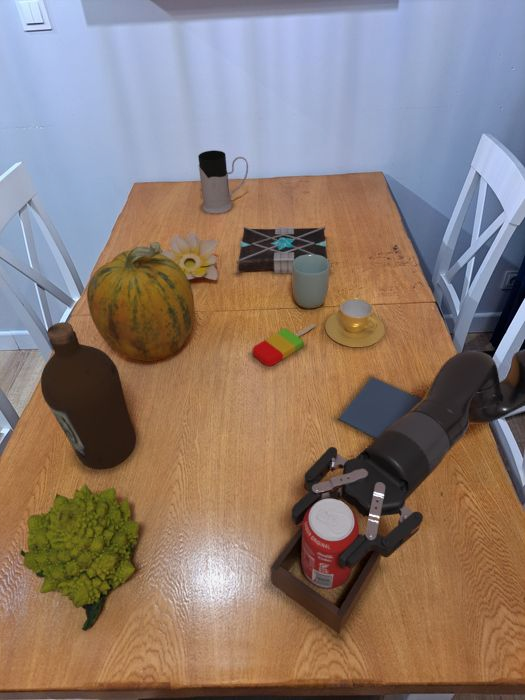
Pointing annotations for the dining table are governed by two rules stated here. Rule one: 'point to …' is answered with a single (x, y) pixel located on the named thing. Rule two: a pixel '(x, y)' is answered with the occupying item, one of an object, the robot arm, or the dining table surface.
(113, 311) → the pumpkin
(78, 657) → the dining table surface
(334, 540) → the beverage can
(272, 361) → the popsicle
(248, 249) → the book
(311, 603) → the can holder
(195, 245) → the decorative flower
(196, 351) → the dining table surface
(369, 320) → the cup
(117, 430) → the olive oil
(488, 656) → the dining table surface
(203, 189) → the glass holder
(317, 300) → the cup
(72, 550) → the vegetable
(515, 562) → the dining table surface
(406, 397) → the mat
